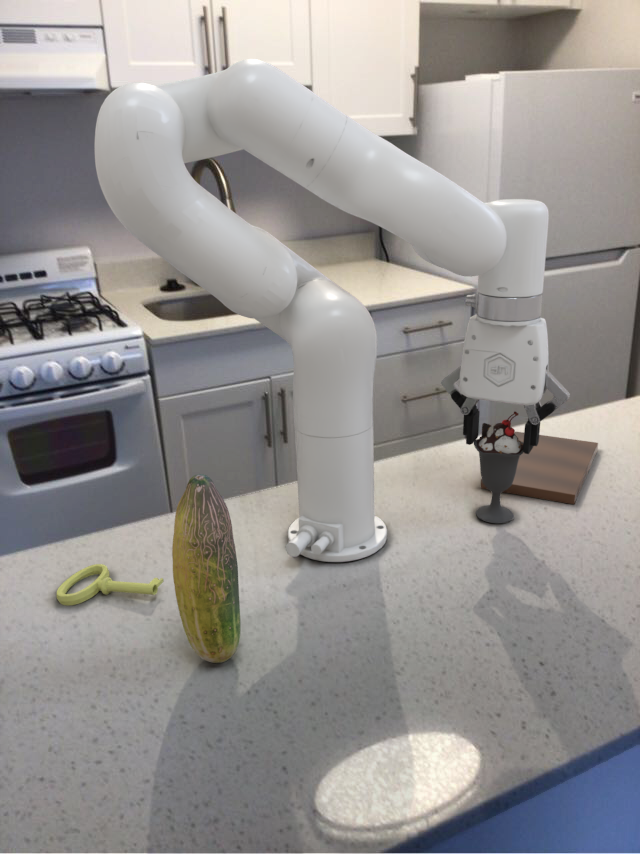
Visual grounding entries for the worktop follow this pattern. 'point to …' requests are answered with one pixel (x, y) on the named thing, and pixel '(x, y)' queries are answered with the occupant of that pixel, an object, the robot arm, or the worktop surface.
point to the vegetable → (206, 571)
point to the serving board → (553, 469)
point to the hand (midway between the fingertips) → (499, 444)
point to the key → (101, 585)
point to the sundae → (498, 466)
